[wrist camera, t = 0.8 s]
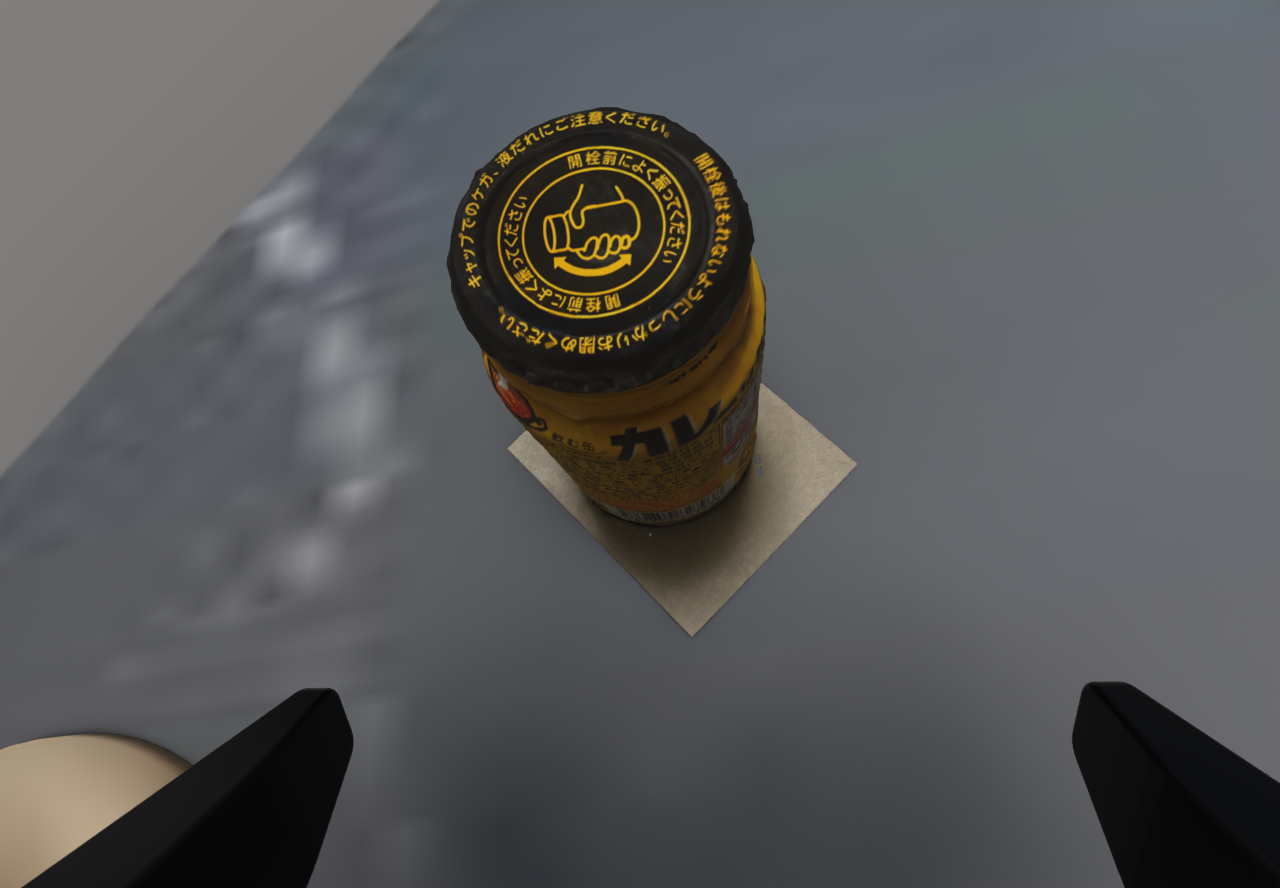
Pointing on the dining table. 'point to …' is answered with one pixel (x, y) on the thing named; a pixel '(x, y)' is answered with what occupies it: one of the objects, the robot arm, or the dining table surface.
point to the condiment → (637, 350)
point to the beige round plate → (71, 795)
